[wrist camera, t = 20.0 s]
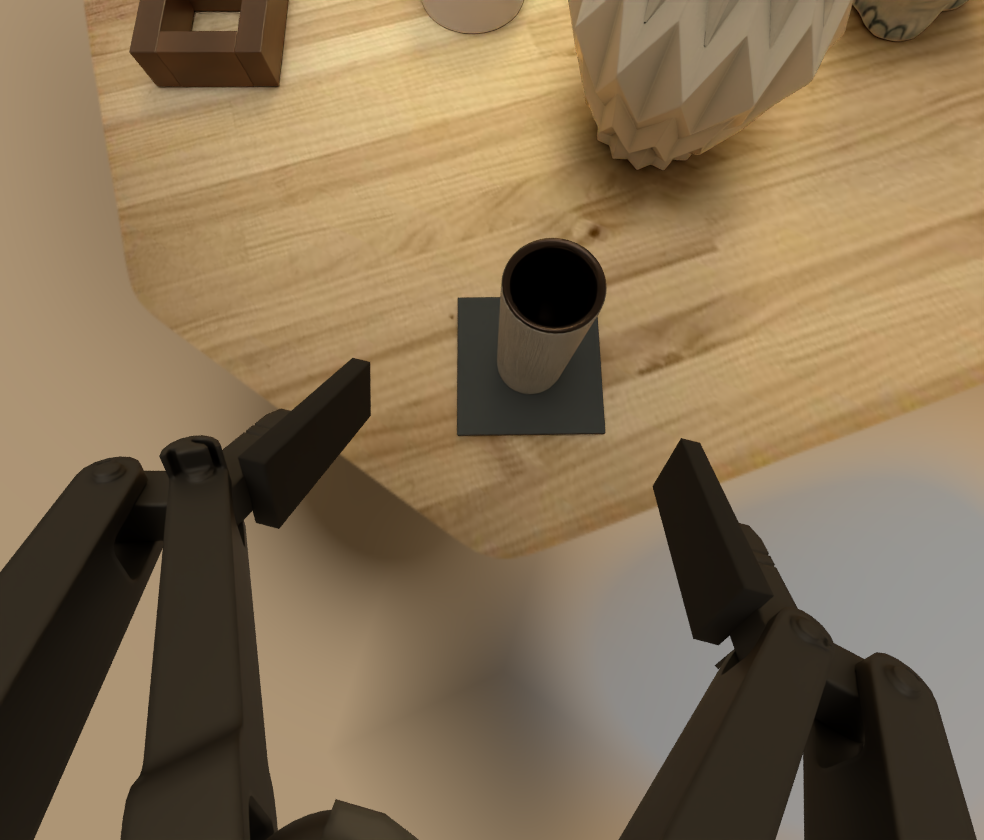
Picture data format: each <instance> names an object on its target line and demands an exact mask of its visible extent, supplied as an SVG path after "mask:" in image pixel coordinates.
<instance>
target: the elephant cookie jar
mask: <svg viewBox="0 0 984 840" xmlns="http://www.w3.org/2000/svg"><path fill="white" fill-rule="evenodd" d="M967 1H968V0H853V6H854V7H855V8H856V9H857V10H858V12H859V14H860V15H861V17H862V20H863V22H864V24H865V25H866V27H867V28H868V29H869V30H870V31H871V32H872V33H873V34H874V35H875V36H877V37H880V38H883V39H887V40H891V41H904V40H910V39H913V38H915V37H916V36H918V35H919V34H920V33H921V32H923V31H924V30H925V29H926V28H927V27H928V26H929V25H930V24H931V23H932V22H933V21H934V19H935V18H936V17H937V16H938V15H939V14H940V13H941V11H947V10H953V9H956V8H958V7H960V6H961V5H963V4H964V3H965V2H967Z"/></svg>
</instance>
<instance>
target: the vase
mask: <svg viewBox="0 0 984 840" xmlns="http://www.w3.org/2000/svg"><path fill="white" fill-rule="evenodd" d="M568 2H569V9H570V15H571V22H572V29H573V35H574V42H575V49H576V54H577V55H578V62H579V68H580V73H581V79H582V85H583V90H584V96H585V101H586V104H587V105H588V106H589V107H590V109H591V112H592V114H593V119H594V120H595V121H596V124H597V126H598V132H597V140H598V141H600V142H603V143H605V144H607V145H609V146H610V150H611V154H612V158H613V159H628V160H629V161H630V163H631V164H632V165H633V166H634V167H635V168H636V170H638V169H641V168H643V167H645V166H648V165H653V166H655V167H657V168H659V169H661V170H665V169H666V168H667V166H668V165H669V164H670V163H671V162H672V161H673V160H687V159H688V158H689V157H690V156H691V155H692V154H696V155H700V154H702V153H704V152H705V151H707V150H709V149H711V148H712V147H714V146H716V145H717V144H719V143H721V142H722V141H724V140H726V139H727V138H729V137H731V136H732V135H734V134H736V133H738V132H739V131H741V130H743V129H744V128H745V127H746V126H747V125H748V124H750V123H751V122H752V121H754V120H755V119H756V118H758V117H759V116H760V115H762V114H763V113H764V112H765V111H767V110H768V109H769V108H771V107H772V106H773V105H775V104H777V103H778V102H780V101H781V100H783V99H785V98H786V97H788V96H790V95H791V94H793V93H794V92H796V91H798V90H799V89H801V88H802V87H804V86H806V85H807V84H809V83H810V82H811V81H812V80H813V78H814V76H815V74H816V72H817V70H818V68H819V66H820V64H821V62H822V60H823V57H824V55H825V53H826V51H827V50H828V49H829V48H830V47H831V46H833V45H834V44H835V43H836V42H837V41H838V40H839V39H840V38H841V37H842V36H843V34H844V32H845V29H846V26H847V22H848V18H849V15H850V11H851V7H852V4H853V0H568Z"/></svg>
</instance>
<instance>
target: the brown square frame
mask: <svg viewBox="0 0 984 840" xmlns="http://www.w3.org/2000/svg"><path fill="white" fill-rule="evenodd" d="M287 7H288V0H140V2H139V7H138V12H137V17H136V22H135V27H134V32H133V37H132V42H131V46H130V51H129V52H130V54H131V55H132V56H133V57H134V58H135V60H136V61H137V62H138V63H139V65H140V66H141V67H142V68H143V69H144V71H145V72H146V73H147V74H148V75H149V77H150V78H151V79H152V80H153V82H154V83H155V84H156V85H157V86H182V87H223V86H279V79H280V70H281V61H282V52H283V43H284V34H285V25H286V16H287ZM194 10H195V11H240V18H239V26H238V32H237V31H191V27H192V21H193V15H194Z"/></svg>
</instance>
